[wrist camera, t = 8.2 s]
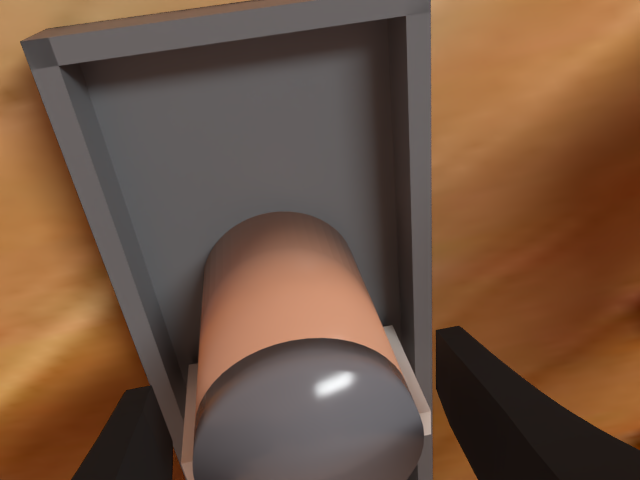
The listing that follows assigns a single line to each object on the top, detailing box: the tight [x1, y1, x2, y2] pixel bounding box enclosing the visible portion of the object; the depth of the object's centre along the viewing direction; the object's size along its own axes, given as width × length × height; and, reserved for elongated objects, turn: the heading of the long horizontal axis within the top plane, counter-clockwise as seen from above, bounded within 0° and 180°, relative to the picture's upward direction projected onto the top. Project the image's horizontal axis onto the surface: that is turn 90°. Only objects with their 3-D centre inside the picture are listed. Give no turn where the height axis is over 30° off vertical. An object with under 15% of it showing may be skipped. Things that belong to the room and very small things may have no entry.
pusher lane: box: [20, 0, 433, 480], centre depth 17 cm, size 9×22×5 cm, turn 6°
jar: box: [192, 211, 424, 480], centre depth 14 cm, size 5×5×7 cm
